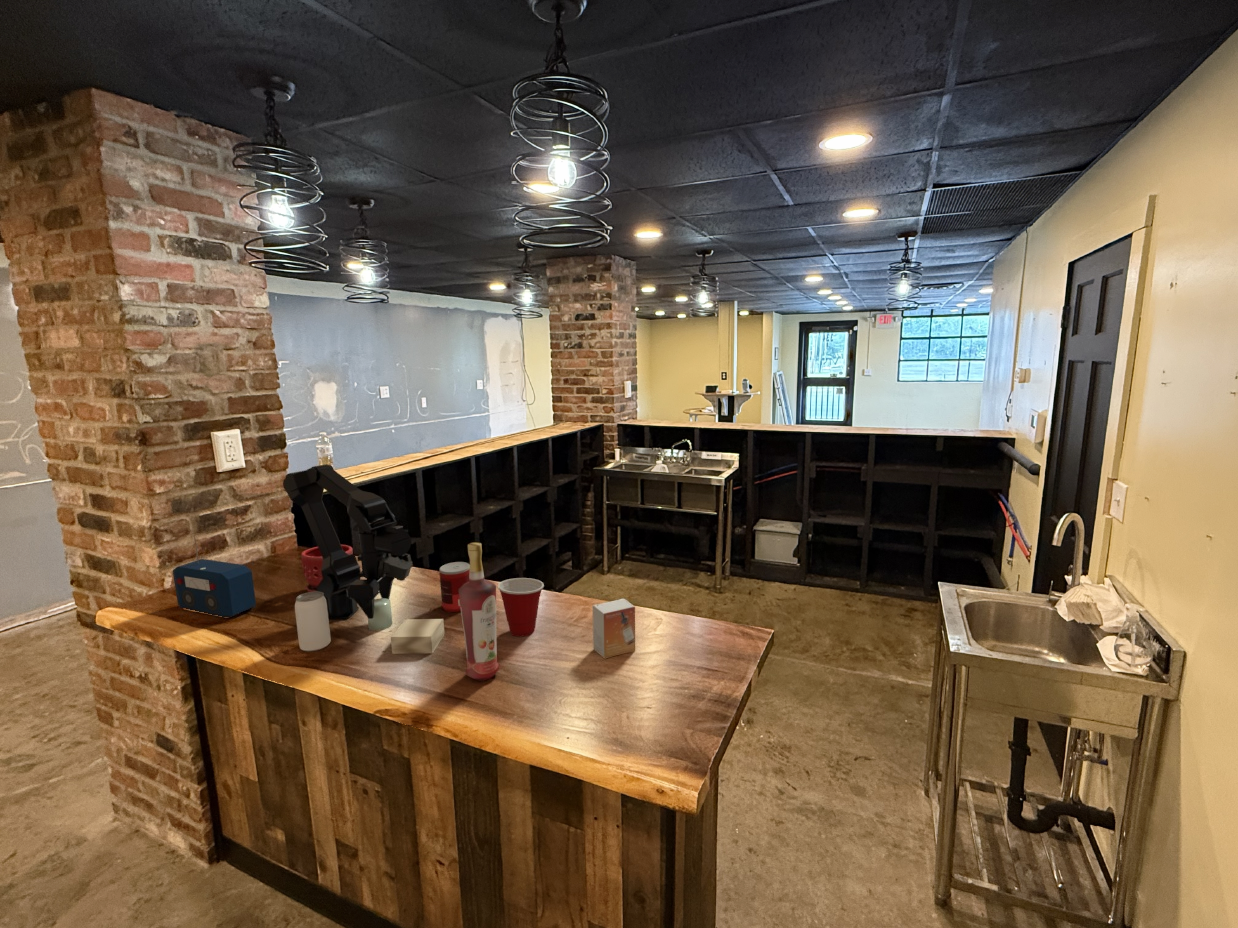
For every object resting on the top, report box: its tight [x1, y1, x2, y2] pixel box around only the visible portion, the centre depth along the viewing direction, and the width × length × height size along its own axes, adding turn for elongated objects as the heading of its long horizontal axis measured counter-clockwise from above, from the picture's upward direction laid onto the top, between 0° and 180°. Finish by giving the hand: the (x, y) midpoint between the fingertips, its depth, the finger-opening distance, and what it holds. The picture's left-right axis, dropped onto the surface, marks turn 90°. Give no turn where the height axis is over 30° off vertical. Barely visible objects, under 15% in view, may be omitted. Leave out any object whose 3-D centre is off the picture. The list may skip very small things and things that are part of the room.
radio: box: [172, 535, 257, 618], centre depth 156 cm, size 21×9×20 cm, turn 69°
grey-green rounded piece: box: [367, 597, 393, 632], centre depth 146 cm, size 6×6×6 cm
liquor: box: [459, 542, 501, 681], centre depth 120 cm, size 7×7×28 cm
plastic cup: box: [497, 577, 545, 637], centre depth 141 cm, size 11×11×12 cm
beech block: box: [390, 618, 445, 655], centre depth 136 cm, size 9×9×4 cm
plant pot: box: [300, 544, 354, 593], centre depth 169 cm, size 13×13×12 cm
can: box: [294, 591, 332, 653], centre depth 136 cm, size 6×6×12 cm
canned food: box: [439, 561, 470, 613], centre depth 156 cm, size 8×8×11 cm
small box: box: [592, 598, 636, 659], centre depth 131 cm, size 8×6×10 cm
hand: (378, 610), depth 146 cm, fingers open, 9 cm apart
